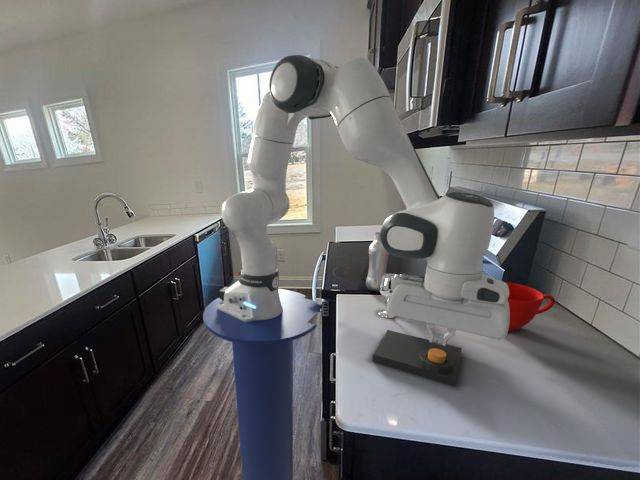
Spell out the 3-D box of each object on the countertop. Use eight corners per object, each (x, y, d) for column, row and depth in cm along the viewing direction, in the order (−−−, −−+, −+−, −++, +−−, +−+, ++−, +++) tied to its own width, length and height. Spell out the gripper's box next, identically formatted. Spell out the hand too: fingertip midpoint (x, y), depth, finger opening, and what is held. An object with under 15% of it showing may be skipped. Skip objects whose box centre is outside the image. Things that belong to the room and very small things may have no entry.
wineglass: (395, 320, 89) (400, 281, 85) (374, 316, 93) (378, 277, 88) (399, 312, 94) (405, 274, 89) (379, 308, 97) (383, 271, 93)
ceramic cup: (564, 339, 76) (578, 302, 73) (485, 337, 79) (495, 300, 76) (528, 315, 88) (539, 281, 84) (461, 313, 91) (468, 281, 87)
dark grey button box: (371, 361, 73) (373, 348, 72) (386, 336, 82) (388, 324, 81) (454, 386, 64) (457, 372, 62) (460, 354, 73) (463, 341, 72)
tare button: (426, 360, 67) (427, 353, 66) (428, 353, 69) (430, 346, 68) (444, 365, 65) (445, 358, 64) (445, 358, 67) (447, 351, 67)
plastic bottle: (383, 295, 106) (389, 236, 99) (362, 291, 110) (367, 234, 103) (388, 288, 111) (394, 232, 103) (368, 285, 115) (373, 230, 107)
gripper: (388, 276, 64) (380, 335, 69) (520, 298, 52) (498, 367, 58) (396, 267, 69) (388, 323, 74) (518, 285, 57) (498, 350, 62)
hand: (437, 342), depth 66 cm, fingers closed
